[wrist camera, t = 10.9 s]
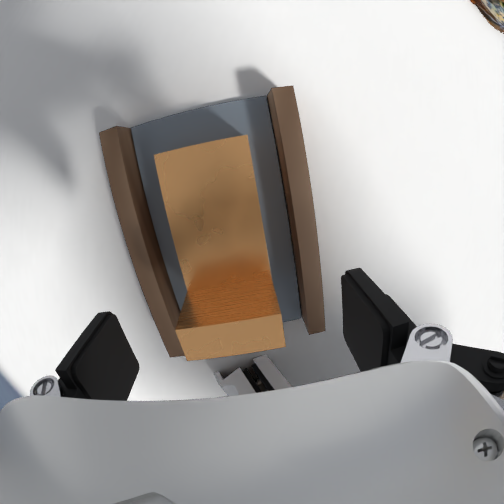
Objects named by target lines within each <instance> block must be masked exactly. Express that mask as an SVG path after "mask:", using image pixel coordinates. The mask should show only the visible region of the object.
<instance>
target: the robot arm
mask: <svg viewBox="0 0 504 504" xmlns="http://www.w3.org/2000/svg"><path fill="white" fill-rule="evenodd" d="M341 285H342V307H343V334H344V338H345V341H346V343H347V345H348V347H349V349H350V351H351V353H352V355H353V357H354V359H355V361H356V363H357V365H358V367H359V369H360V371H361V372H358V373H354V374H350V375H345V376H341V377H337V378H333V379H328V380H324V381H320V382H315V383H310V384H305V385H300V386H295V387H290V388H284V389H278V390H272V391H266V392H259V393H252V394H244V395H236V396H227V397H217V398H205V399H190V400H169V401H127V399H128V396H129V394H130V391H131V389H132V386H133V384H134V381H135V379H136V377H137V374H138V372H139V363H138V361H137V359H136V357H135V355H134V353H133V351H132V349H131V347H130V345H129V343H128V341H127V339H126V336H125V334H124V332H123V330H122V328H121V325H120V323H119V321H118V319H117V317H116V315H114V314H112V312H110V311H109V312H101V313H98V314H97V315H96V316H95V317H94V319H93V320H92V321H91V322H90V324H89V325H88V326H87V328H86V329H85V330H84V331H83V333H82V334H81V335H80V337H79V338H78V339H77V341H76V342H75V343H74V345H73V346H72V347H71V349H70V350H69V352H68V353H67V354H66V356H65V357H64V358H63V360H62V361H61V363H60V364H59V365H58V367H57V368H56V370H55V371H56V372H57V374H58V375H59V377H60V379H59V380H57V378H56V377H54V376H45V377H42V378H41V379H39V380H38V381H36V382H35V383H34V385H33V386H32V388H31V390H30V396H26V397H21V398H17V399H15V400H12V401H10V402H8V403H7V404H6V405H5V406H4V407H3V408H2V410H1V411H0V504H504V353H501V352H497V351H491V350H484V349H479V348H473V347H467V346H462V345H456V344H452V341H453V339H452V334H451V333H450V331H449V330H448V329H446V328H445V327H443V326H441V325H437V324H423V325H420V326H418V327H417V326H416V325H415V324H414V323H413V322H412V321H411V320H410V318H409V317H408V316H407V315H406V314H405V313H404V312H403V311H402V310H401V308H400V307H399V306H398V305H397V304H396V303H395V302H394V301H393V300H392V299H391V298H390V296H388V295H385V294H384V293H383V292H382V290H381V289H380V288H379V287H378V286H377V285H376V284H375V283H374V282H373V281H372V280H371V279H370V278H369V277H368V276H367V274H366V273H365V272H364V271H363V270H362V269H361V268H356V269H352V270H347V271H346V272H345V275H342V276H341Z"/></svg>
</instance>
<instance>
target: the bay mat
mask: <svg viewBox="0 0 504 504" xmlns="http://www.w3.org/2000/svg"><path fill="white" fill-rule="evenodd" d="M131 131H132V136H133V141H134V146H135V151H136V156H137V161H138V165H139V170H140V174H141V178H142V182H143V187H144V191H145V195H146V199H147V203H148V207H149V210H150V214H151V218H152V222H153V225H154V229H155V232H156V236H157V239H158V243H159V246H160V250H161V253H162V256H163V260H164V263H165V266H166V269H167V272H168V276H169V279H170V282H171V285H172V288H173V291H174V294H175V297H176V300H177V302H178V305H179V308H180V311H181V309H182V306H183V303H184V300H185V297H186V294H187V288H186V285H185V281H184V278H183V274H182V271H181V267H180V264H179V260H178V256H177V253H176V249H175V245H174V241H173V237H172V234H171V230H170V226H169V222H168V218H167V213H166V209H165V205H164V201H163V196H162V192H161V187H160V183H159V178H158V174H157V169H156V164H155V159H154V155H155V154H159V153H163V152H167V151H171V150H175V149H179V148H183V147H187V146H192V145H196V144H201V143H205V142H210V141H215V140H220V139H225V138H231V137H236V136H242V135H248V141H249V146H250V152H251V158H252V163H253V169H254V175H255V181H256V187H257V192H258V198H259V204H260V210H261V216H262V222H263V228H264V234H265V241H266V247H267V253H268V259H269V265H270V272H271V277H272V281H273V285H274V289H275V292H276V296H277V300H278V304H279V307H280V311H281V316H282V322H286V321H291V320H295V319H300V318H301V309H300V301H299V293H298V285H297V278H296V270H295V263H294V256H293V249H292V242H291V235H290V228H289V222H288V215H287V209H286V203H285V197H284V191H283V185H282V179H281V173H280V167H279V161H278V156H277V150H276V145H275V140H274V134H273V129H272V124H271V119H270V114H269V109H268V104H267V99H266V96H260V97H254V98H248V99H242V100H236V101H231V102H226V103H221V104H216V105H211V106H207V107H202V108H198V109H194V110H190V111H186V112H182V113H178V114H174V115H171V116H167V117H164V118H160V119H157V120H154V121H150V122H147V123H144V124H141V125H138V126H135V127H132V128H131Z"/></svg>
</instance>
